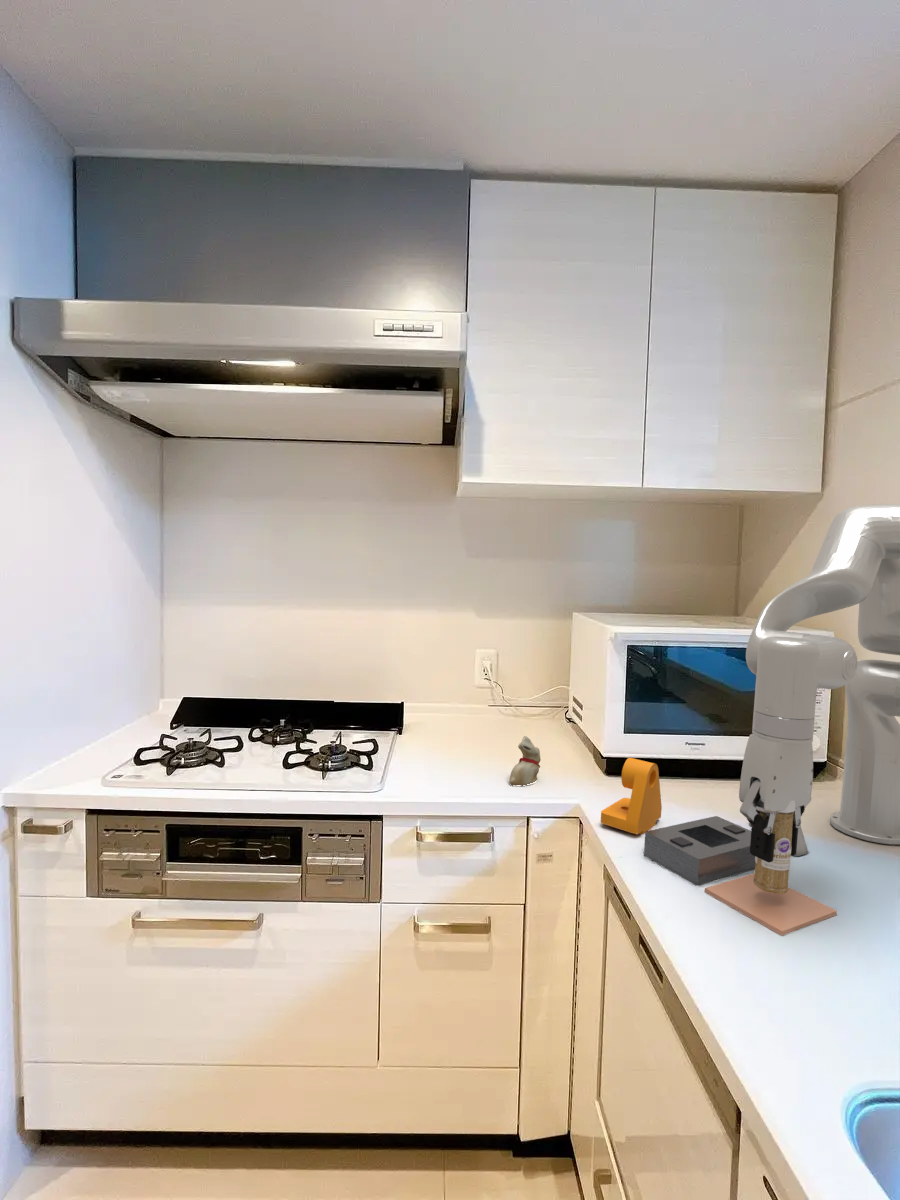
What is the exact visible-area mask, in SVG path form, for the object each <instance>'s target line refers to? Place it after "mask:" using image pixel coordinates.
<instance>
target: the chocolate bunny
mask: <svg viewBox="0 0 900 1200" xmlns="http://www.w3.org/2000/svg"><path fill="white" fill-rule="evenodd" d="M517 747H518V749H519V750H520V751H521V754H522V757H520V758H519V759H518V761H519V762H518V763H517V764H515V765H514V767H513V768H512V770H511V772H510V775H509V785H510V784H511V785H527V784H530V783H533V782H535V781H536V780H537V781H538V774H539V771H540V768H541V764H540V763H541V760H542V759H541V753H540V748H539V747H536V746H535V745H534V743H533V742H532V741H531V739H530V738H529V737H528V736H526V735H523V738H522V739H521V742H519V744H518V746H517ZM511 785H510V786H511Z"/></svg>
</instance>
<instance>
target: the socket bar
mask: <svg viewBox="0 0 900 1200" xmlns="http://www.w3.org/2000/svg"><path fill="white" fill-rule="evenodd" d="M750 842H751V830H750V829H749V828H745V827H743V826H741V825H738V824H737V823H734V822H732V821H730V820H727V819H724V818H722V817H719V816H718V815H715V816H710V817H705V818H701V819H697V820H696V819H695V820H692V821H687V822H682V823H677V824H673V825H669V826H664V827H661V828H656V829H650V830H648V831H645V833H644V843H643V845H644V846H643V857H645V858H647V859H649V860H650V861H652V862H654V863H656V864H658V865H659V866H661V867H663V868H665V869H667V870H669V871H670V872H672V873H673V874H676V875H678V876H679V877H681V878H682V879H684V880H686V881H688V882H690V883H691V884H693V885H695V886H702V885H705V883H706V884H709V883H711V882H716V881H719V880H722V879H725V878H728V877H729V878H730V877H733V876H736V875H739V874H742V873H746V872H749V871H753V870H754V871H755V856H754V855H752V854H751V853H750Z"/></svg>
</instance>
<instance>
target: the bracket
mask: <svg viewBox="0 0 900 1200" xmlns="http://www.w3.org/2000/svg"><path fill="white" fill-rule="evenodd" d="M659 773H660V771H659V767H658V764H657V763H655V762H649V761H645V760H641V759H637V758H634V757H627V759H626V760H625V762H624V764H623V766H622V770H621V785H622V787H624V788H626V789H630V790H631V795H630V798H629V797H622V798H621V799H619V800H618V801H616V802H614V803H611V804H610V805H609V806H607V807H605V808H604V809H602V810H601V811H600V823H601V824H603V825H605V826H608V827H611V828H615V829H618V830H621V831H625V832H628V833H631V834H634V835H645V831H650V830H652V828H654V827H655V826H656V824H657V823H656V822H657V821H658V820H659V819H661V818H662V808H663V806H662V797H661V785H660V776H659V775H660V774H659Z"/></svg>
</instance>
